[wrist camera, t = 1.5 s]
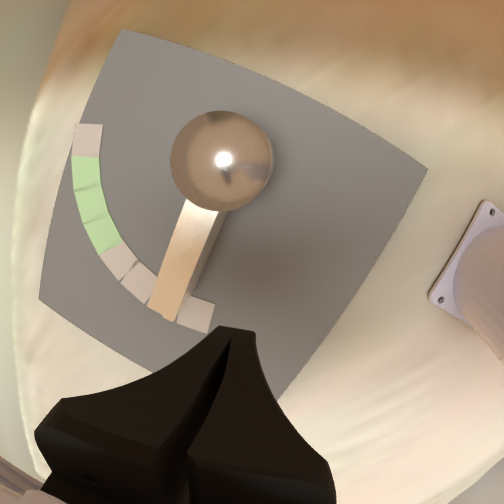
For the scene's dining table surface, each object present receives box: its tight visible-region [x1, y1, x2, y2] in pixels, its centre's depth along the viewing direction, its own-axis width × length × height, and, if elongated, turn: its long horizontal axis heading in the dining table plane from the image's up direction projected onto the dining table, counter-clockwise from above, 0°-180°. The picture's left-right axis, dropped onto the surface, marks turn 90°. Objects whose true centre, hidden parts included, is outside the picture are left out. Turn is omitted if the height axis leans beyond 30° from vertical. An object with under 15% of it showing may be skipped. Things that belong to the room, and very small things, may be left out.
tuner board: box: [39, 29, 428, 401], centre depth 20 cm, size 21×22×1 cm
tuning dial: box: [148, 110, 276, 322], centre depth 17 cm, size 13×4×4 cm, turn 156°
